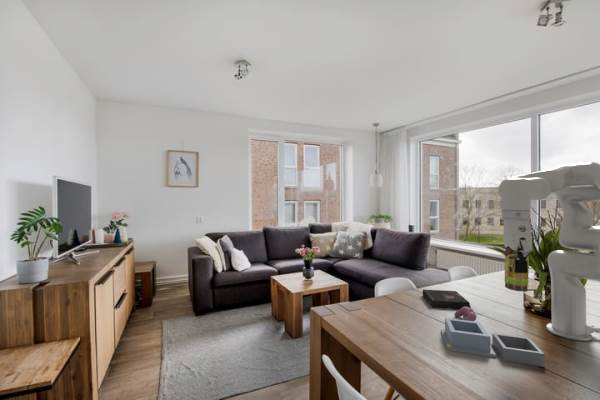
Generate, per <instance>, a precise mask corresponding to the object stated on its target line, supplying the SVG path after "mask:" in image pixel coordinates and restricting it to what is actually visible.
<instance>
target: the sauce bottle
mask: <svg viewBox="0 0 600 400" xmlns="http://www.w3.org/2000/svg"><path fill="white" fill-rule="evenodd" d="M518 250H522V249H518ZM518 254H520V253H518ZM515 260H516V256H515V251H513V250H512V249H511V248H510V247H509V246H507V248H506V247H505V255H504V288H506V289H508V290H511V291H515V292H527V291H528V290H529V288H528V286H529V271H530V270H529V268H530V267H529V265H530V263H529V262H530V256H528V261H527V267H528V272H527V273H517V272H515Z"/></svg>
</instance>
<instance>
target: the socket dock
mask: <svg viewBox="0 0 600 400" xmlns="http://www.w3.org/2000/svg"><path fill="white" fill-rule="evenodd" d="M440 334H441V335H442V338H443V340H444V343H445V346H446V349H447V351H451V352H456V353H457V352H458V353H465V354H472V355H477V356H483V357H489V358H497V354H496V353H495V351H494V349H493V348H492V345H491V335H490V334H489V333H488V331H487V330H486V328H485V327H484V326H483V324H482V323H481V322H480V321H476V320H475V321H466V320H463V319H458V318H457V319H456V318H448V317H445V318H444V329H440Z"/></svg>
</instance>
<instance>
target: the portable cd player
mask: <svg viewBox="0 0 600 400" xmlns="http://www.w3.org/2000/svg"><path fill="white" fill-rule="evenodd" d="M422 297H423V299H424V300H425V301H426V302H427V304H428V305H429V306H430V307H431V309H447V310H448V309H449V310H460V309H461V308H462V307H464V306H465V307H469V308H471V309H472V307H471V303H470V301H468V300H467V299H466V298H465V297H464V296H463V295H461V294H460V293H459V292H458V291H456V290H443V289H422Z"/></svg>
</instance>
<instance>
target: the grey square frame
mask: <svg viewBox="0 0 600 400" xmlns="http://www.w3.org/2000/svg"><path fill="white" fill-rule="evenodd" d="M491 335H492V340H491V341H492V346H493V347H494V349H495V350H496V352H497V353H498V355H499V356H500V357H501V359H502V361H503V362H504V361H505V362H510V363H516V364H522V365H530V366H536V367H542V368H546V354H545V353H544V352H543V351H542V349H540V348H539V346H537V344H535V342H534V341H533V340H532V339H531V338H530V337H526V336H518V335H509V334H502V333H495V332H492V334H491Z"/></svg>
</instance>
